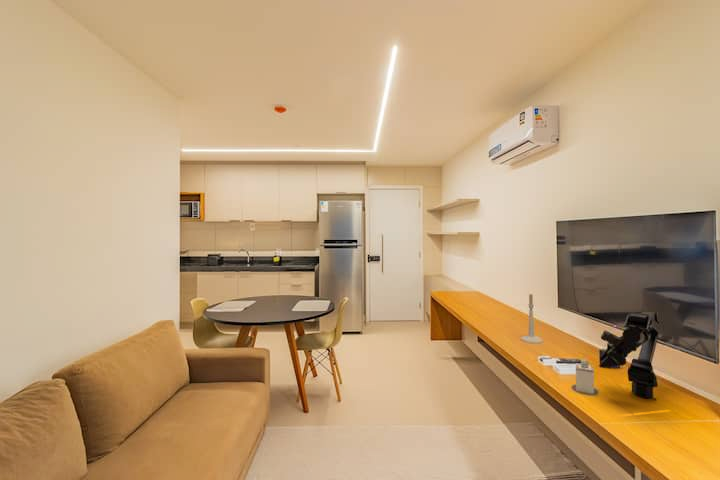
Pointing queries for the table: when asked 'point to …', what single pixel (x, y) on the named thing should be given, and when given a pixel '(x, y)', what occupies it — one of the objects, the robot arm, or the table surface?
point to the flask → (602, 361)
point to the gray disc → (584, 392)
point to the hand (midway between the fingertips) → (599, 363)
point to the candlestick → (531, 326)
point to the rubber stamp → (584, 377)
